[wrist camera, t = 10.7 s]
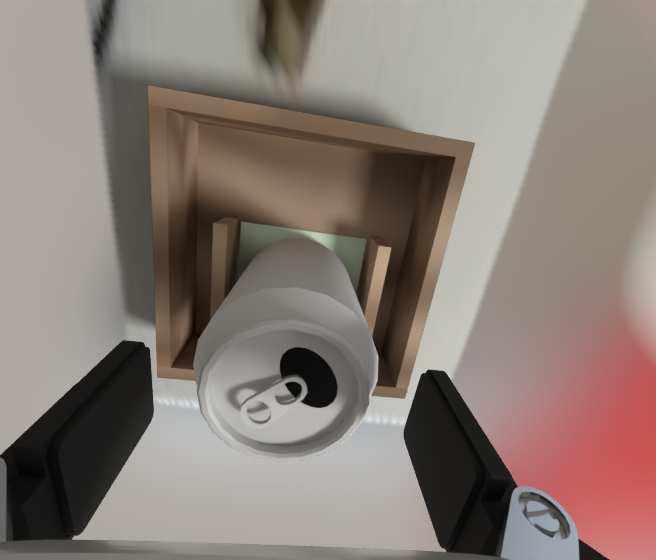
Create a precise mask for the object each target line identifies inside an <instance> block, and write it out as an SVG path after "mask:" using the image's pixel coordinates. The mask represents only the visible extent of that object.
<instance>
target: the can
mask: <svg viewBox="0 0 656 560" xmlns="http://www.w3.org/2000/svg"><path fill="white" fill-rule="evenodd" d="M193 367H194V372H195V378H196V383H197V395H198V400H199V405H200V410H201V414H202V415H203V417H204V418H205V420H206V422H207V423H208V425H209V427H210V428H211V430H212V432H213V433H214V434H216V435H217V436H218V437H219V438H220V439H221V440H223V441H224V442H225V443H226V444H227V445H228V446H230V447H231V448H233V449H235V450H237V451H239V452H242V453H244V454H246V455H248V456H250V457H253V458H256V459H262V460H268V461H274V462H290V461H303V460H306V459H309V458H313V457H316V456H319V455H322V454H325V453H327V452H329V451H330V450H332V449H334V448H335V447H337V446H338V445H340V444H342V443H343V442H345V441H346V440H347V439H348V438H349V437H350V435H351V434H352V433H353V432H354V431H355V430H356V429H357V427H358V426H359V425H360V424H361V422H362V420H363V417H364V415H365V412H366V410H367V407H368V405H369V400H370V398H371V395H372V393H373V390H374V388H375V386H376V383H377V381H378V354H377V351H376V348H375V345H374V342H373V339H372V336H371V333H370V330H369V328H368V325H367V323H366V320H365V317H364V315H363V312H362V309H361V307H360V304H359V302H358V299H357V296H356V294H355V291H354V289H353V286H352V283H351V281H350V278H349V275H348V273H347V270H346V268H345V266H344V264H343V263H342V262H341V260H340V259H339V258H338V257H337V255H336V254H335V253H334V252H333V251H331V250H330V249H328V248H327V247H325V246H324V245H322V244H321V243H317V242H314V241H310V240H307V239H303V238H302V239H284V240H281V241H278V242H276V243H273V244H270V245H268V246H267V247H266V248H264V249H263V250H262V251H261V252H259V253H258V254H257V255H255V257H254V258H253V260H252V261H251V262H250V264H249V265H248V267H247V268H246V270H245V271H244V273H243V274H242V275H241V277H240V278H239V280H238V281H237V283H236V284H235V286H234V287H233V288H232V290H231V291H230V293H229V294H228V296H227V297H226V298H225V300H224V301H223V303H222V304H221V306H220V307H219V309H218V310H217V311H216V313H215V314H214V316H213V317H212V319H211V320H210V322H209V324H208V325H207V327H206V328H205V330H204V331H203V333H202V335H201V336H200V338H199V339H198V343H197V348H196V353H195V358H194V364H193Z"/></svg>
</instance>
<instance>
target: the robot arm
mask: <svg viewBox="0 0 656 560" xmlns="http://www.w3.org/2000/svg"><path fill="white" fill-rule="evenodd" d="M153 413H154V406H153V390H152V375H151V359H150V349H149V348H148V347H145V344H144V343H143V342H135V341H122V342H121V343H120V344H118V345H117V346H116V347H115V348H114V349H113V350H112V351H111V352H110V353H109V354H108V355H107V356H106V357H105V358H104V359H102V360H101V361H100V362H99V363H98V364H97V365H96V366H95V367H94V368H93V369H92V370H91V371H90V372H89V373H88V374H87V375H86V376H85V377H83V378H82V379H81V380H80V381H79V382H78V383H77V384H75V385H74V386H73V387H72V388H71V389H70V390H69V391H68V392H67V393H66V394H65V395H64V396H63V397H62V398H61V399H59V400H58V401H57V402H56V403H55V404H54V405H53V406H52V407H51V408H50V409H49V410H48V411H47V412H46V413H45V414H43V415H42V416H41V417H40V418H39V419H38V420H37V421H36V422H35V423H34V424H33V425H32V426H31V427H30V428H29V429H28V430H27V431H25V433H23V434H22V435H21V436H20V437H19V438H18V439H17V440H16V441H15V442H14V443H13V444H12V445H11V446H10V447H9V448H8V449H6V450H5V451H4V452H3V453H2V454H1V455H0V560H609V559H607V558H606V557H604V556H603V555H601V554H600V553H598V552H597V551H596V550H594V549H593V548H591V547H590V546H588V545H587V544H585V543H584V542H582V541H581V540H580V539H578V533H577V528H576V526H575V524H574V522H573V520H572V518H571V517H570V516H569V514H568V513H567V512H566V511H565V509H564V508H563V507H562V506H560V504H559V503H558V502H557V501H555V500H554V499H553V498H551V497H550V496H549V495H547V494H546V493H544V492H542V491H540V490H538V489H536V488H532V487H528V486H519V487H518V486H517V485H516V483H515V482H514V480H513V478H512V475H511V474H510V472H509V471H508V469H507V468H506V466H505V465H504V463H503V461H502V460H501V458H500V457H499V455H498V454H497V452H496V450H495V449H494V447H493V446H492V444H491V443H490V441H489V439H488V438H487V436H486V435H485V433H484V432H483V430H482V428H481V427H480V425H479V424H478V422H477V421H476V419H475V418H474V416H473V414H472V413H471V411H470V410H469V408H468V407H467V405H466V403H465V402H464V400H463V399H462V397H461V396H460V394H459V392H458V391H457V389H456V388H455V386H454V385H453V383H452V381H451V380H450V378H449V377H448V375H447V374H446V372H444V371H437V370H427V371H426V373H423V374H422V375H421V377H420V380H419V383H418V386H417V390H416V393H415V396H414V399H413V402H412V406H411V409H410V412H409V415H408V419H407V422H406V425H405V428H404V440H405V444H406V446H407V450H408V453H409V456H410V459H411V461H412V465H413V468H414V471H415V474H416V477H417V480H418V483H419V486H420V489H421V491H422V494H423V497H424V500H425V503H426V506H427V509H428V512H429V515H430V518H431V521H432V524H433V527H434V530H435V533H436V536H437V539H438V542H439V544H440V546H441V547H442V548H444V549H446V552H433V551H414V550H390V549H366V548H365V549H364V548H341V547H313V546H286V545H285V546H284V545H257V544H226V543H193V542H192V543H191V542H157V541H122V540H72V538H73V537H74V535H75V536H76V535H79V534H81V533H82V532H83V530H84V529H85V528H86V526H87V524H88V523H89V521H90V519H91V518H92V516H93V515H94V513H95V511H96V510H97V508H98V507H99V505H100V503H101V501H102V500H103V498H104V497H105V495H106V494H107V492H108V490H109V489H110V487H111V485H112V484H113V482H114V480H115V479H116V477H117V476H118V474H119V473H120V471H121V469H122V468H123V466H124V464H125V462H126V461H127V460H128V458H129V456H130V454H131V453H132V451H133V450H134V448H135V447H136V445H137V443H138V442H139V440H140V439H141V437H142V435H143V434H144V432H145V430H146V429H147V427H148V425H149V424H150V422H151V420H152V417H153Z"/></svg>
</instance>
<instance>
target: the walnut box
mask: <svg viewBox="0 0 656 560" xmlns="http://www.w3.org/2000/svg"><path fill="white" fill-rule="evenodd" d="M148 110H149V140H150V170H151V201H152V231H153V261H154V292H155V322H156V352H157V378H169V379H181V380H193V381H196V378H195V372H194V367H193V364H194V358H195V353H196V348H197V343H198V339H199V338H200V336H201V335H202V333H203V331H204V330H205V328H206V327H207V325H208V324H209V322H210V320H211V319H212V317H213V316H214V314H215V313H216V311H217V310H218V309H219V307H220V306H221V304H222V303H223V301H224V300H225V298H226V297H227V296H228V294H229V293H230V291H231V290H232V288H233V287H234V286H235V284H236V283H237V281H238V280H239V278H240V277H241V275H242V274H243V273H244V271H245V270H246V268H247V267H248V265H249V264H250V262H251V261H252V260H253V258H254V257H255V255H257V254H258V253H259V252H261V251H262V250H263V249H264V248H266V247H267V246H268V245H270V244H273V243H276V242H278V241H281V240H284V239H302V238H303V239H307V240H310V241H314V242H317V243H321V244H322V245H324V246H325V247H327V248H328V249H330V250H331V251H333V252H334V253H335V254H336V255H337V257H338V258H339V259H340V260H341V262H342V263H343V264H344V266H345V268H346V270H347V273H348V275H349V278H350V281H351V283H352V286H353V289H354V291H355V294H356V296H357V299H358V302H359V304H360V307H361V309H362V312H363V315H364V317H365V320H366V323H367V325H368V328H369V330H370V333H371V336H372V339H373V342H374V345H375V348H376V351H377V354H378V381H377V383H376V386H375V388H374V390H373V393H372V395H371V396H380V397H392V398H403V399H405V396H406V392H407V389H408V385H409V381H410V378H411V374H412V371H413V367H414V363H415V360H416V356H417V352H418V349H419V345H420V341H421V338H422V334H423V331H424V327H425V323H426V320H427V316H428V312H429V309H430V305H431V301H432V298H433V294H434V291H435V287H436V283H437V280H438V276H439V272H440V269H441V265H442V261H443V258H444V254H445V251H446V247H447V243H448V240H449V236H450V232H451V229H452V225H453V221H454V218H455V214H456V211H457V207H458V203H459V200H460V196H461V192H462V189H463V185H464V181H465V178H466V174H467V171H468V167H469V163H470V160H471V156H472V152H473V149H474V145H475V143H473V142H467V141H462V140H456V139H450V138H445V137H439V136H433V135H428V134H422V133H416V132H411V131H405V130H399V129H393V128H388V127H382V126H376V125H371V124H365V123H359V122H354V121H348V120H342V119H337V118H331V117H325V116H320V115H314V114H308V113H303V112H297V111H291V110H286V109H280V108H274V107H268V106H263V105H257V104H251V103H246V102H240V101H234V100H229V99H223V98H217V97H212V96H206V95H200V94H195V93H189V92H183V91H178V90H172V89H166V88H160V87H155V86H149V85H148Z"/></svg>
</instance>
